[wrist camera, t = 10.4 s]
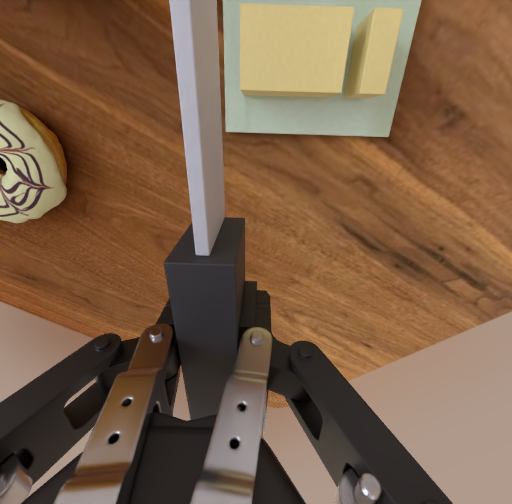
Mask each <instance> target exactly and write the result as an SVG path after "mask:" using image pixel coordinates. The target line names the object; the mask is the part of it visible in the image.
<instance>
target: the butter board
mask: <svg viewBox="0 0 512 504" xmlns="http://www.w3.org/2000/svg"><path fill="white" fill-rule="evenodd" d="M240 4H274V5H310V6H346V7H354V8H355V9H354V15H353V22H352V28H351V35H350V41H349V48H348V54H347V61H346V67H345V74H344V80H343V87H342V93H340V94H338V95H335V96H332V97H330V98H321V97H288V96H255V95H243V93H242V92H241V90H240ZM420 5H421V0H223V34H224V75H225V117H226V132H240V133H272V134H304V135H336V136H368V137H389V133H390V129H391V125H392V120H393V116H394V112H395V108H396V104H397V100H398V96H399V92H400V87H401V83H402V79H403V75H404V71H405V67H406V63H407V58H408V54H409V50H410V46H411V42H412V38H413V34H414V29H415V25H416V21H417V17H418V13H419V9H420ZM376 7H381V8H404V11H403V16H402V20H401V25H400V29H399V34H398V38H397V43H396V47H395V52H394V57H393V61H392V66H391V70H390V75H389V79H388V84H387V88H386V93H385V95H381V96H376V97H372V98H368V99H354V98H345V94H346V88H347V81H348V75H349V69H350V63H351V56H352V50H353V44H354V38H355V31H356V27H357V25H358V24H359V23H360V22H361V21H362V20H363V19H364V18H365V17H366V16H367V15H368V14H369V13H370V12H371V11H372V10H373V9H374V8H376Z"/></svg>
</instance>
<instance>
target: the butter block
mask: <svg viewBox="0 0 512 504" xmlns="http://www.w3.org/2000/svg"><path fill="white" fill-rule="evenodd" d="M354 9H355V8H354V7H346V6H310V5H274V4H240V90H241V92H242V93H243V95H255V96H288V97H321V98H330V97H332V96H335V95H338V94H340V93H342V87H343V80H344V74H345V67H346V61H347V54H348V48H349V41H350V35H351V28H352V22H353V15H354Z"/></svg>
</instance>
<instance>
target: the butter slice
mask: <svg viewBox="0 0 512 504" xmlns="http://www.w3.org/2000/svg"><path fill="white" fill-rule="evenodd" d="M403 11H404V8H381V7H376V8H374V9H373V10H372V11H371V12H370V13H369V14H368V15H367V16H366V17H365V18H364V19H363V20H362V21H361V22H360V23H359V24H358V25H357V27H356V31H355V38H354V44H353V50H352V56H351V63H350V69H349V75H348V81H347V88H346V94H345V98H354V99H368V98H372V97H376V96H381V95H385V93H386V88H387V84H388V79H389V75H390V70H391V66H392V61H393V57H394V52H395V47H396V43H397V38H398V34H399V29H400V25H401V20H402V16H403Z"/></svg>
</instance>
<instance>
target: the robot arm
mask: <svg viewBox="0 0 512 504" xmlns="http://www.w3.org/2000/svg"><path fill="white" fill-rule="evenodd" d="M239 337H240V345H239V349H238V353H237V357H236V360H235V364H234V368H233V371H232V372H230V373H229V375H228V378H227V382H226V386H225V389H224V393H223V397H222V400H221V404H220V408H219V411H218V415H211V416H207V417H203V418H198V419H194V420H189V421H185V420H181V419H179V418H176V417H173V408H174V403H175V397H176V392H177V387H178V382H179V377H180V365H181V361H180V355H179V349H178V343H177V338H176V332H175V326H174V320H173V314H172V309H171V303H170V298H169V301H168V302H167V304H166V306H165V308H164V309H163V311H162V313H161V315H160V317H159V319H158V321H157V323H156V325H153V326H150V327H149V328H147V329H146V330H145V331H144V332H143V333H142V335H141V337H139V338H135V339H130V340H125V341H121V338H120V336H118V335H117V334H112V333H110V334H104V335H101V336H98V337H96V338H95V339H93V340H92V341H90V342H89V343H87V344H86V345H84V346H83V347H81V348H80V349H78V350H77V351H75V352H74V353H72V354H71V355H70V356H68V357H67V358H65V359H64V360H62V361H61V362H60V363H58V364H56V365H55V366H53V367H52V368H51V369H49V370H48V371H46V372H45V373H43V374H42V375H40V376H39V377H37V378H36V379H34V380H33V381H31V382H30V383H28V384H27V385H26V386H24V387H23V388H21V389H20V390H18V391H17V392H15V393H14V394H12V395H11V396H9V397H8V398H6V399H5V400H4V401H2V402H1V403H0V504H306V503H305V502H304V500H303V498H302V497H301V495H300V494H299V492H298V490H297V489H296V487H295V486H294V484H293V483H292V481H291V479H290V478H289V476H288V475H287V473H286V471H285V470H284V468H283V467H282V465H281V464H280V462H279V461H278V459H277V457H276V456H275V454H274V453H273V451H272V450H271V448H270V447H269V445H268V444H267V443H266V441H265V440H264V429H265V418H266V409H267V400H268V391H269V390H270V391H273V392H275V393H278V394H281V395H283V396H285V399H286V401H287V402H288V404H289V406H290V407H291V409H292V411H293V413H294V414H295V416H296V418H297V419H298V421H299V423H300V425H301V426H302V428H303V430H304V431H305V433H306V435H307V437H308V438H309V440H310V442H311V443H312V445H313V447H314V448H315V450H316V452H317V454H318V455H319V457H320V459H321V460H322V462H323V464H324V465H325V467H326V469H327V470H328V472H329V474H330V476H331V477H332V479H333V481H334V483H335V484H336V486H337V487H338V488H337V490H336V493H335V496H334V501H333V504H452V502H451V501H450V500H449V499H448V497H447V496H446V495H445V494H444V493H443V492H442V491H441V489H440V488H439V487H438V486H437V485H436V484H435V482H434V481H433V480H432V479H431V478H430V477H429V475H428V474H427V473H426V472H425V471H424V470H423V468H422V467H421V466H420V465H419V464H418V463H417V461H416V460H415V459H414V458H413V457H412V456H411V454H410V453H409V452H408V451H407V450H406V449H405V447H404V446H403V445H402V444H401V443H400V442H399V441H398V440H397V438H396V437H395V436H394V435H393V434H392V433H391V431H390V430H389V429H388V428H387V427H386V425H385V424H384V423H383V422H382V421H381V420H380V418H379V417H378V416H377V415H376V414H375V413H374V412H373V410H372V409H371V408H370V407H369V406H368V405H367V403H366V402H365V401H364V400H363V399H362V398H361V396H360V395H359V394H358V393H357V392H356V391H355V389H354V388H353V387H352V386H351V385H350V384H349V382H348V381H347V380H346V379H345V378H344V377H343V375H342V374H341V373H340V372H339V371H338V370H337V369H336V367H335V366H334V365H333V364H332V363H331V362H330V360H329V359H328V358H327V357H326V356H325V355H324V353H323V352H322V351H321V350H320V349H319V348H318V347H317V346H316V345H315V344H313V343H311V342H308V341H298V342H295V343H293V344H292V345H291V346H290V345H287V344H284V343H281V342H279V341H278V340H277V339H276V338H275V337H274V336H273V334H272V332H271V310H270V296H269V294H268V293H267V291H261V290H257V281H245V283H244V291H243V300H242V308H241V316H240V325H239ZM94 378H95V380H96V382H95V383H94V384H93V385H92V386H90V387H89V388H88V389H87V390H86V391H84V392H83V393H82V394H81V395H80V396H78V397H77V398H76V399H75V400H74V401H72V402H71V403H70V404H69V405H67V406H66V407H65V408H64V406H65V404H66V402H67V401H68V400H69V399H70V398H71V397H72V396H73V395H74V394H76V393H77V392H78V391H79V390H81V389H82V388H83V387H84V386H86V385H87V384H88V383H89V382H91V381H92V380H93V379H94ZM93 427H94V428H93ZM92 428H93V430H92V433H91V435H90V437H89V440H88V442H87V444H86V447H85V449H84V451H83V452H82V453H81V454H79V455H78V456H77V457H76V458H74V459H73V460H72V461H71V462H70V463H69V464H67V465H66V466H65V467H64V468H63V469H61V470H60V471H59V472H58V473H57V474H55V475H54V476H53V477H52V478H51V479H49V480H48V481H47V482H46V483H45V484H43V485H42V486H41V487H40V488H39V489H37V491H35V492H34V493H33V494H31V495H30V496H29V497H28V498H27V496H28V494H29V492H30V490H31V487H32V485H33V484H34V483H35V482H36V481H37V480H38V479H40V477H42V476H43V475H44V474H45V473H46V472H47V471H48V470H49V469H50V468H51V467H52V466H53V465H54V464H55V463H56V462H57V461H58V460H59V459H60V458H61V457H62V456H64V454H66V452H68V451H69V450H70V449H71V448H72V447H73V446H74V445H75V444H76V443H77V442H78V441H79V440H80V439H81V438H82V437H83V436H84V435H85V434H86V433H88V431H90V430H91V429H92ZM26 498H27V499H26Z"/></svg>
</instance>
